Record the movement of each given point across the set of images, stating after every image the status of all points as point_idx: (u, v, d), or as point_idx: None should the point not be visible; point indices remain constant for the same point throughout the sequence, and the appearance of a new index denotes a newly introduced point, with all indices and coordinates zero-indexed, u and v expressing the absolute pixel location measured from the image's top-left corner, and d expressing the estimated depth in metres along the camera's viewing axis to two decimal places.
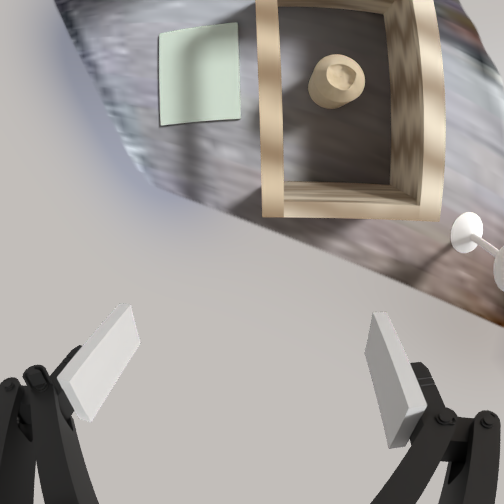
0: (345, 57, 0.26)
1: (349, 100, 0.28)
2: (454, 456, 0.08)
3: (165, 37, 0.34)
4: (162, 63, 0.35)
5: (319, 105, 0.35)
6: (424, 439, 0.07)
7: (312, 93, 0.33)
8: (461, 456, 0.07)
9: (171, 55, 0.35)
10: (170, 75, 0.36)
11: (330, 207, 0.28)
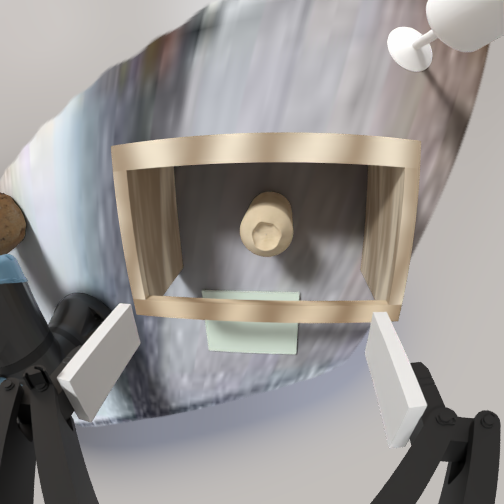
0: (242, 226, 0.32)
1: (290, 223, 0.31)
2: (454, 456, 0.08)
3: (213, 346, 0.48)
4: (238, 350, 0.48)
5: None
6: (424, 439, 0.07)
7: None
8: (461, 456, 0.07)
9: (232, 343, 0.48)
10: (251, 344, 0.47)
11: (400, 265, 0.27)
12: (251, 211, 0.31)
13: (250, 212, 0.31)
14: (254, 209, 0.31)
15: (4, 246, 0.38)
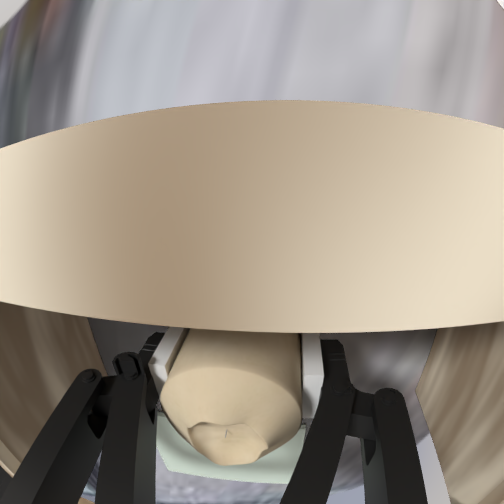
0: (165, 404, 0.10)
1: (295, 408, 0.10)
2: (358, 431, 0.10)
3: (173, 467, 0.27)
4: (210, 475, 0.27)
5: None
6: (324, 412, 0.09)
7: None
8: (365, 432, 0.10)
9: (199, 469, 0.26)
10: (228, 473, 0.26)
11: None
12: (182, 377, 0.10)
13: (179, 378, 0.10)
14: (189, 373, 0.10)
15: None
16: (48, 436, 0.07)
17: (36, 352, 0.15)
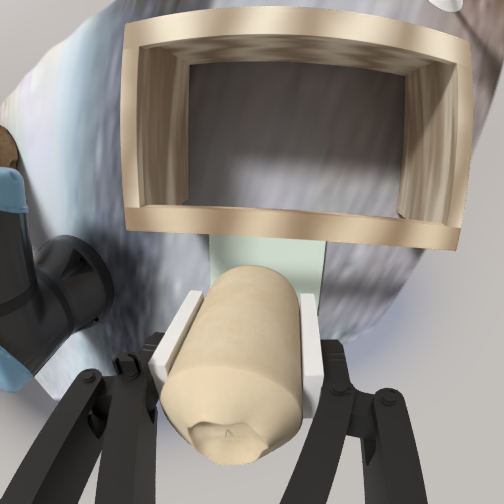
0: (165, 404, 0.10)
1: (296, 407, 0.10)
2: (358, 431, 0.10)
3: None
4: None
5: None
6: (324, 412, 0.09)
7: None
8: (365, 432, 0.10)
9: None
10: None
11: (459, 174, 0.20)
12: (182, 376, 0.10)
13: (179, 378, 0.10)
14: (190, 372, 0.10)
15: None
16: (48, 436, 0.07)
17: (169, 141, 0.29)
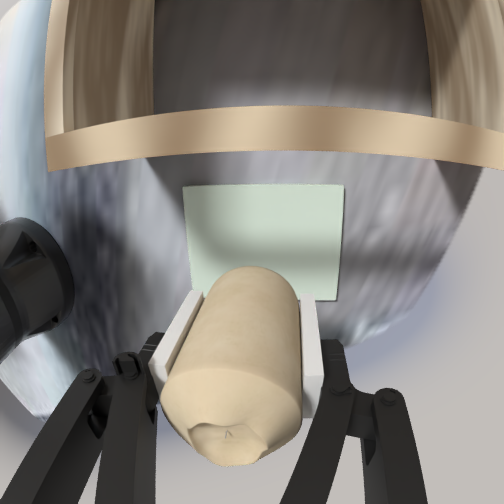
0: (165, 405, 0.10)
1: (295, 409, 0.10)
2: (358, 431, 0.10)
3: (200, 289, 0.30)
4: None
5: None
6: (324, 412, 0.09)
7: None
8: (365, 432, 0.10)
9: None
10: None
11: None
12: (182, 378, 0.10)
13: (179, 379, 0.10)
14: (189, 374, 0.10)
15: None
16: (48, 436, 0.07)
17: (121, 64, 0.18)
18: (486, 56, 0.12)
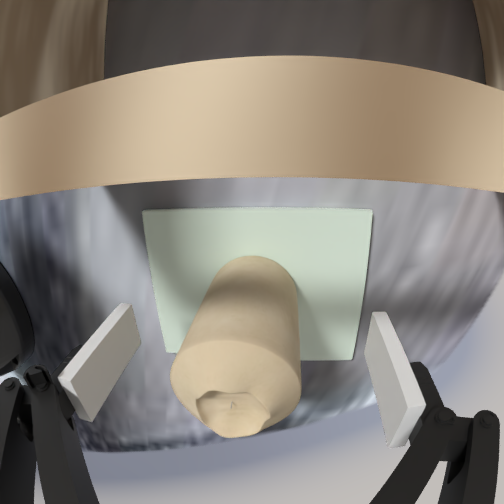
0: (174, 379, 0.12)
1: (295, 379, 0.11)
2: (453, 456, 0.08)
3: (174, 343, 0.22)
4: None
5: None
6: (423, 439, 0.07)
7: None
8: (460, 456, 0.07)
9: None
10: None
11: None
12: (191, 350, 0.11)
13: (189, 352, 0.11)
14: (199, 346, 0.11)
15: None
16: None
17: (46, 42, 0.10)
18: None
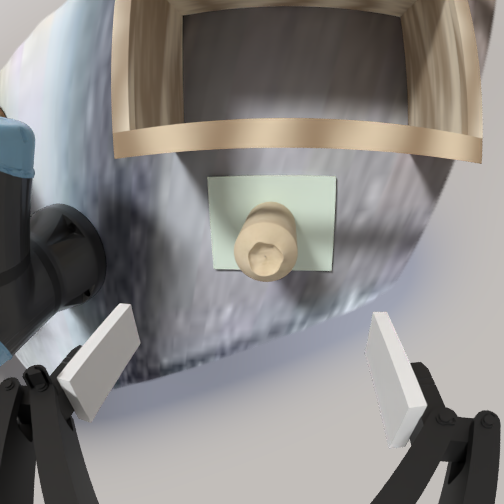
0: (237, 246, 0.27)
1: (294, 243, 0.26)
2: (454, 456, 0.08)
3: (219, 261, 0.37)
4: None
5: None
6: (424, 439, 0.07)
7: None
8: (461, 456, 0.07)
9: None
10: None
11: (471, 81, 0.16)
12: (247, 229, 0.26)
13: (246, 230, 0.26)
14: (251, 226, 0.26)
15: None
16: None
17: (162, 78, 0.25)
18: (444, 73, 0.19)
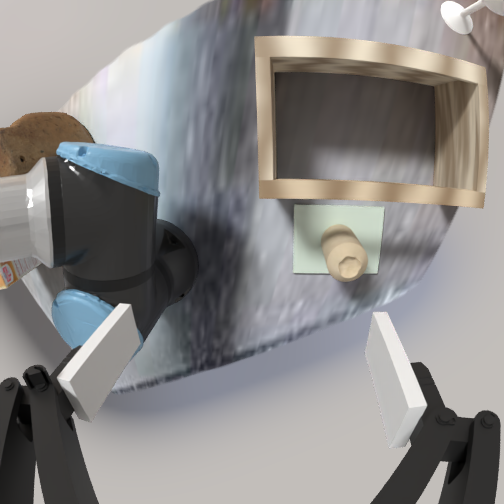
0: (330, 258, 0.39)
1: (366, 256, 0.38)
2: (454, 456, 0.08)
3: (298, 267, 0.49)
4: (323, 270, 0.49)
5: None
6: (424, 439, 0.07)
7: None
8: (461, 456, 0.07)
9: (317, 262, 0.49)
10: None
11: (482, 157, 0.28)
12: (337, 246, 0.38)
13: (337, 247, 0.38)
14: (340, 245, 0.38)
15: None
16: None
17: (274, 132, 0.37)
18: (465, 145, 0.31)
